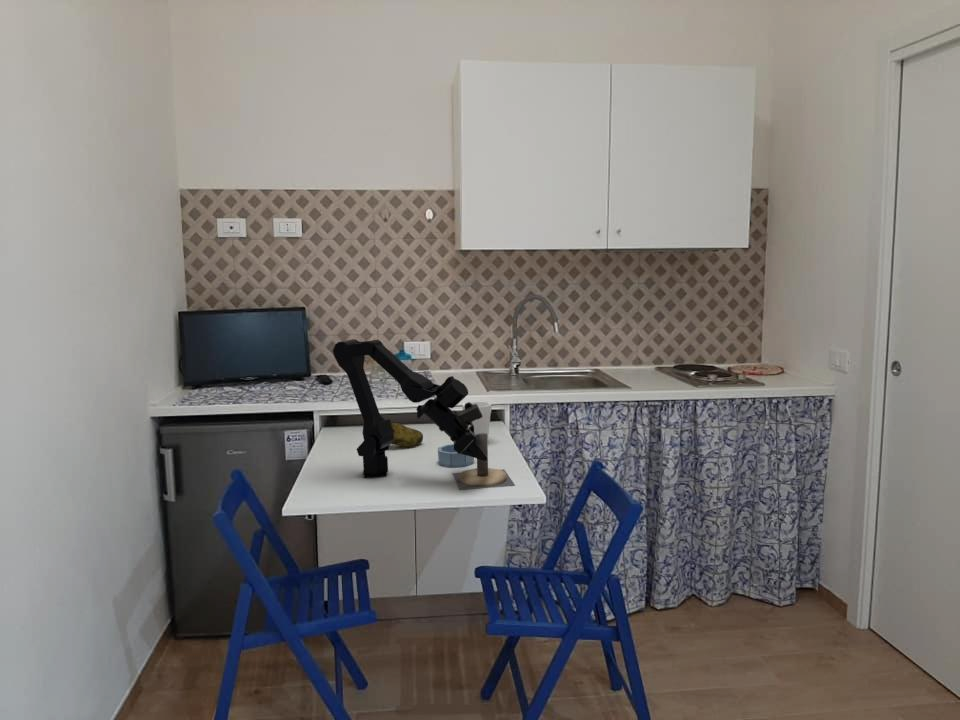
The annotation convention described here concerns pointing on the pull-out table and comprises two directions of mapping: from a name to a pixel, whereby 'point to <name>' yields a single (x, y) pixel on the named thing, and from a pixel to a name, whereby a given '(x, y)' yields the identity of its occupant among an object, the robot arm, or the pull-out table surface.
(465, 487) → the mat
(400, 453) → the pull-out table surface
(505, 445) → the pull-out table surface
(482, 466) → the paper towel holder
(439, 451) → the bowl
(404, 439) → the potato
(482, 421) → the foam cup
